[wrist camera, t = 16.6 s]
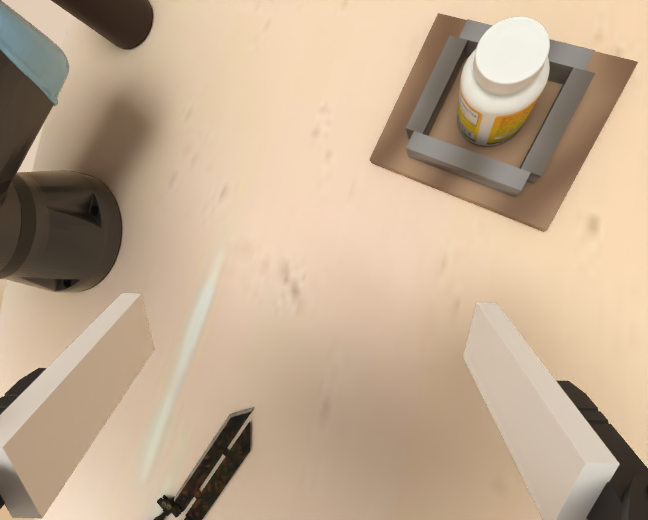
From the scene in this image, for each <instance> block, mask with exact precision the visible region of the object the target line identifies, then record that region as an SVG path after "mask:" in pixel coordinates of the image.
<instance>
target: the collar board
mask: <svg viewBox="0 0 648 520" xmlns="http://www.w3.org/2000/svg"><path fill="white" fill-rule="evenodd" d="M490 27H492V25H488V24H484V23H480V22H476V21H472V20H464V19H459V18H455V17H451V16H447V15H443V14H439V13H438V15H437V17H436V19H435V21H434V23H433V26H432V28H431V30H430V32H429V34H428V36H427V38H426V40H425V43H424V45H423V47H422V49H421V51H420V53H419V55H418V57H417V60H416V62H415V64H414V66H413V68H412V70H411V72H410V74H409V77H408V79H407V81H406V83H405V85H404V87H403V89H402V92H401V94H400V96H399V98H398V100H397V102H396V104H395V106H394V109H393V111H392V113H391V115H390V117H389V119H388V121H387V123H386V126H385V128H384V130H383V132H382V134H381V136H380V138H379V140H378V143H377V145H376V147H375V149H374V151H373V153H372V155H371V157H370V161H371V163H373V164H376V165H378V166H381V167H383V168H386V169H388V170H391V171H393V172H396V173H398V174H401V175H403V176H406V177H408V178H411V179H413V180H416V181H418V182H421V183H423V184H426V185H428V186H431V187H433V188H436V189H438V190H441V191H443V192H446V193H448V194H451V195H453V196H456V197H458V198H461V199H463V200H466V201H468V202H471V203H473V204H476V205H478V206H481V207H483V208H486V209H488V210H491V211H494V212H496V213H499V214H501V215H504V216H506V217H509V218H511V219H514V220H516V221H519V222H521V223H524V224H526V225H529V226H531V227H534V228H536V229H539V230H541V231H546V230H547V229H548V227H549V226H550V224H551V222H552V220H553V218H554V216H555V214H556V213H557V211H558V209H559V207H560V205H561V203H562V202H563V200H564V198H565V196H566V194H567V192H568V190H569V189H570V187H571V185H572V183H573V181H574V179H575V178H576V176H577V174H578V172H579V170H580V168H581V166H582V165H583V163H584V161H585V159H586V157H587V155H588V154H589V152H590V150H591V148H592V146H593V144H594V142H595V141H596V139H597V137H598V135H599V133H600V131H601V129H602V128H603V126H604V124H605V122H606V120H607V118H608V117H609V115H610V113H611V111H612V109H613V107H614V105H615V104H616V102H617V100H618V98H619V96H620V94H621V93H622V91H623V89H624V87H625V85H626V83H627V81H628V80H629V78H630V76H631V74H632V72H633V70H634V69H635V67H636V65H637V63H638V62H636V61H632V60H628V59H624V58H620V57H616V56H612V55H608V54H604V53H599V52H595V50H591V49H587V48H583V47H579V46H575V45H571V44H567V43H562V42H558V41H554V40H550V39H549V41H550V49H549V54H548V59H549V66H550V69H549V76H548V80H547V83H546V85H545V87H544V89H543V91H542V93H541V95H540V97H539V98H538V100H537V102H536V103H535V105H534V107H533V109H532V110H531V112H530V114H529V116H528V118H527V119H526V121H525V123H524V125H523V126H522V128H521V129H520V130H519V132H518V133H517V134H516V135H515V136H513V137H512V138H510V139H509V140H507V141H505V142H503V143H500V144H497V145H494V146H481V145H477V144H474V143H472V142H470V141H469V140H467V139H466V138H465V137H464V136H463V134H462V133H461V131H460V129H459V127H458V123H457V111H458V100H459V90H460V81H461V74H462V70H463V67H464V65H465V63H466V61H467V59H468V58H469V56H470V55H471V54H472V52H473V51H474V50H475V49H476V48H477V45H478V43H479V41H480V39H481V37H482V36H483V35H484V33H485V32H486V31H487V30H488V29H489V28H490Z"/></svg>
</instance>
